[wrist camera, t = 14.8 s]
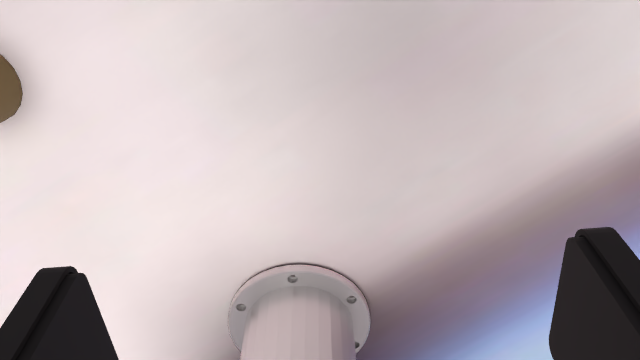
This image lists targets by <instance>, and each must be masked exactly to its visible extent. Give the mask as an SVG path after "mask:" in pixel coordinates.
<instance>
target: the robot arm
mask: <svg viewBox="0 0 640 360" xmlns="http://www.w3.org/2000/svg"><path fill="white" fill-rule="evenodd" d="M370 322H371V321H370V312H369V308H368V304H367V301H366V299H365V297H364V296H363V294H362V292H361V291H360V290H359V289H358V288H357V287H356V286H355V285H354V284H353V283H352V282H351V281H350V280H348V279H347V278H345V277H344V276H342V275H340V274H338V273H336V272H334V271H332V270H329V269H325V268H322V267H318V266H311V265H286V266H281V267H275V268H272V269H269V270H267V271H264V272H261V273H260V274H258V275H256V276H254V277H253V278H251V279H250V280H248V281H247V282H246V283H245V284H244V285H243V286H241V288H240V289H239V290H238V292H237V293H236V294H235V296H234V298H233V300H232V303H231V305H230V311H229V315H228V328H229V332H230V336H231V338H232V340H233V342H234V344H235V345H236V347H237V348H238V349H239V350H240V352H241V357H240V360H356V353H357V352H358V351H359V350H360V349H361V348H362V347H363V345H364V343H365V342H366V340H367V337H368V335H369V332H370ZM549 346H550V351H551V354H552V357H553V359H554V360H640V260H639V259H638V258H637V256H636V255H635V254H634V253H633V251H632V250H631V249H630V248H629V246H628V245H627V244H626V243H625V241H624V240H623V239H622V238H621V236H620V235H619V234H618V233H617V231H615V230H614V229H613V228H611V227H603V228H589V229H580V230H578V231H577V232H576V234H575V237H571V238H568V240H567V242H566V246H565V252H564V257H563V263H562V268H561V274H560V279H559V285H558V290H557V296H556V301H555V307H554V312H553V318H552V323H551V329H550V334H549ZM0 360H119V359H118V357H117V354H116V352H115V349H114V346H113V344H112V341H111V339H110V336H109V334H108V331H107V328H106V326H105V323H104V321H103V318H102V316H101V313H100V310H99V308H98V305H97V303H96V300H95V298H94V295H93V292H92V290H91V287H90V285H89V282H88V280H87V277H86V276H85V275H84V274H83V273H78V272H77V270H76V269H75V268H74V267H71V266H68V267H54V268H43V269H41V270H39V271H38V272H37V273H36V275H35V276H34V278H33V279H32V281H31V283H30V284H29V286H28V287H27V289H26V290H25V292H24V293H23V295H22V296H21V298H20V299H19V301H18V302H17V304H16V305H15V307H14V308H13V310H12V311H11V313H10V314H9V316H8V317H7V319H6V320H5V322H4V323H3V325H2V326H1V328H0Z"/></svg>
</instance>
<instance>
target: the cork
mask: <svg viewBox="0 0 640 360" xmlns="http://www.w3.org/2000/svg"><path fill="white" fill-rule="evenodd" d="M21 99H22V88H21V83H20V80H19V78H18V76H17V74H16V72H15V70H14V68H13V67H12V66H11V65H10V64H9V63H8V61H7V60H6V59H5V58H4V57H3V56H2V55H0V123H1V122H3V121H5V120H6V119H8V118H9V117H11V116H13V115H14V114H15V113H16V111H17V110H18V108H19V107H20V105H21Z"/></svg>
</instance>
